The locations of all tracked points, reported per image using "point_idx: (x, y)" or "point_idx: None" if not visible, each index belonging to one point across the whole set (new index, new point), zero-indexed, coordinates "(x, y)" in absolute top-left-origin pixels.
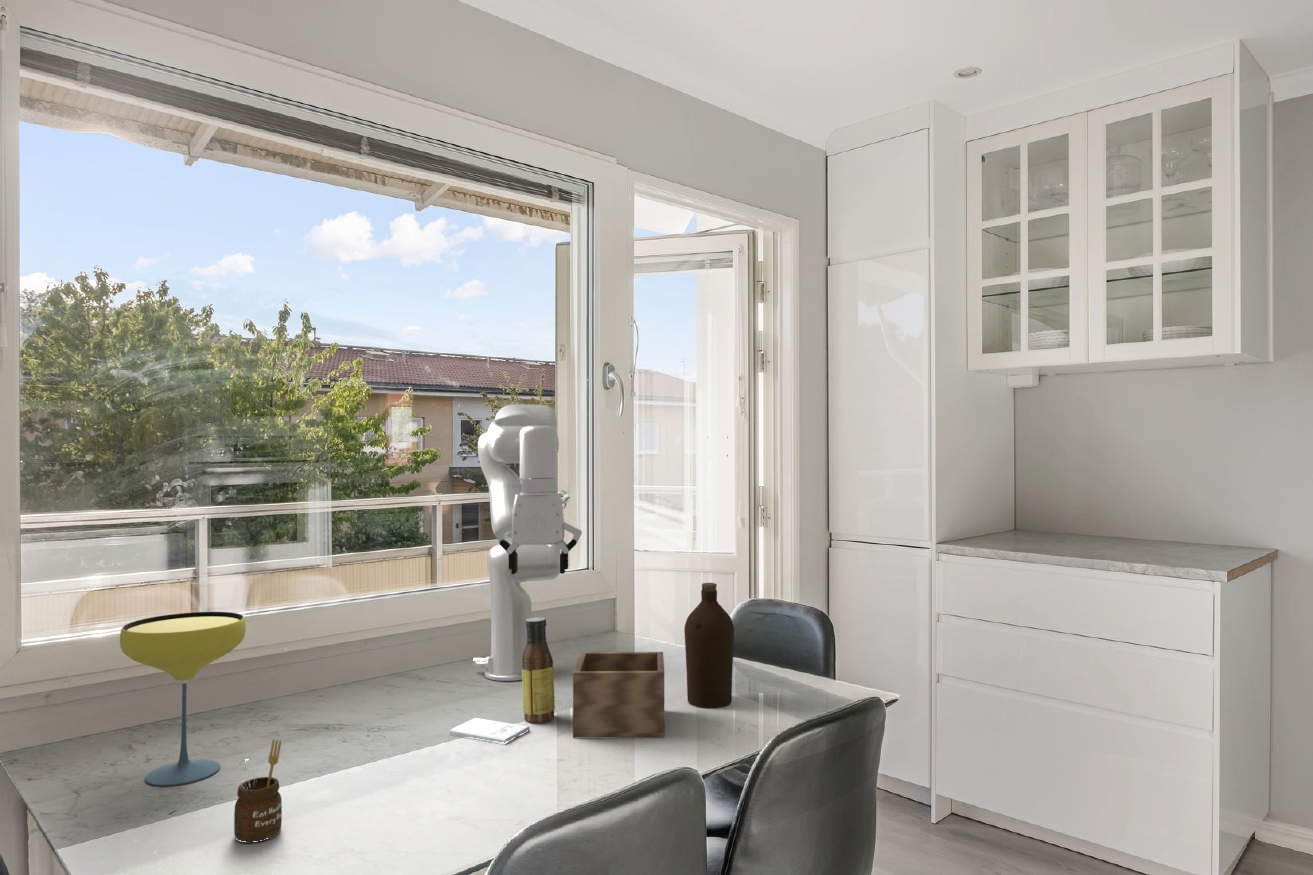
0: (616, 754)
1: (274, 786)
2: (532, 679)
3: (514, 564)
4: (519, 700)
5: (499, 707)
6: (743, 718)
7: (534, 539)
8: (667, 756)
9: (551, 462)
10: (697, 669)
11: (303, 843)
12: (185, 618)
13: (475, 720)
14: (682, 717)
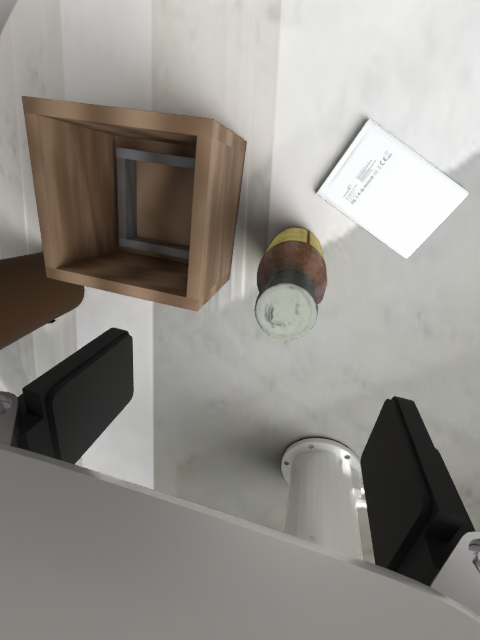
0: (180, 38)
1: None
2: (305, 239)
3: (406, 438)
4: (319, 350)
5: (355, 324)
6: (13, 198)
7: (188, 573)
8: (102, 19)
9: None
10: (25, 271)
11: None
12: None
13: (411, 240)
14: None
